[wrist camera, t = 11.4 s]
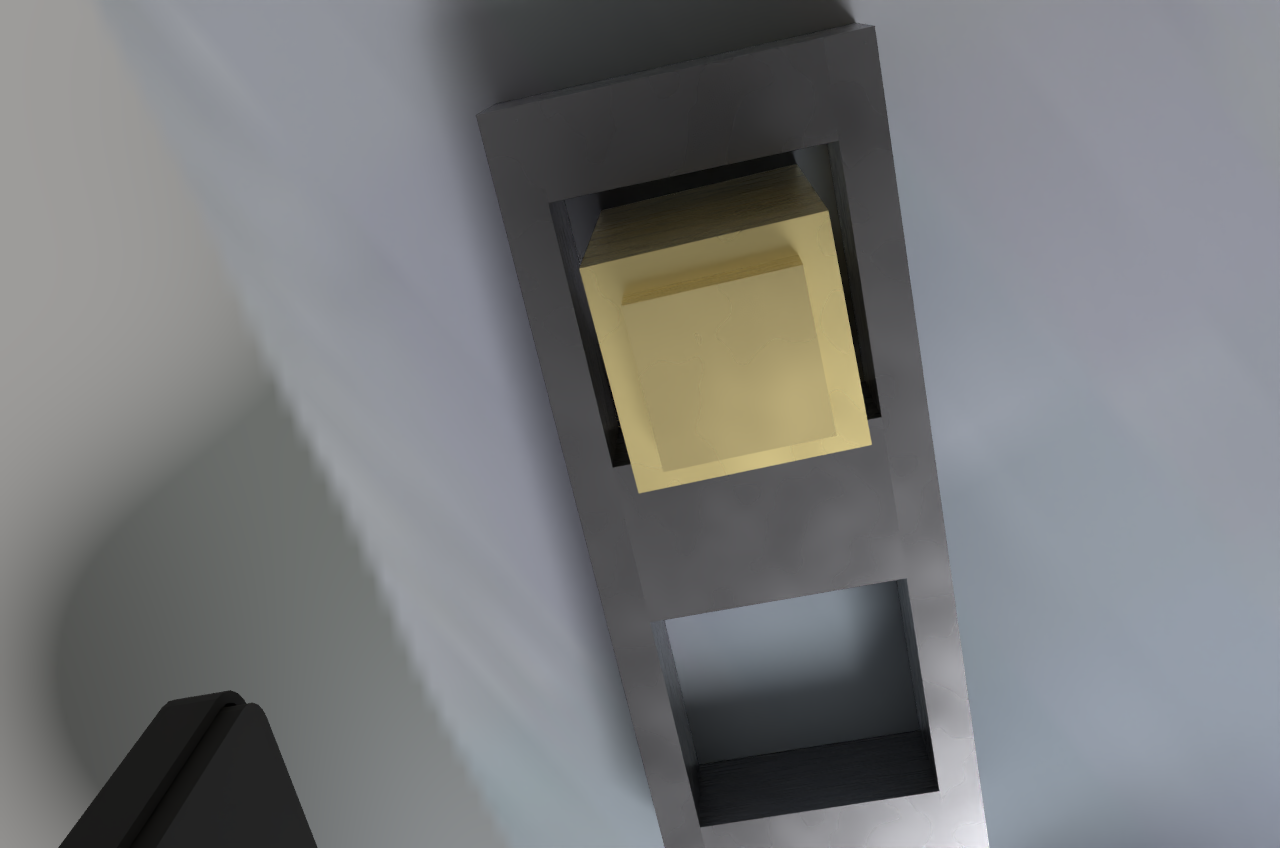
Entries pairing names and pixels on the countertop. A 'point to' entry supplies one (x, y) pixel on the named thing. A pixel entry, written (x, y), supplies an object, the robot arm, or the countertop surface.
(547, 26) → the countertop surface
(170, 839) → the robot arm
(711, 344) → the yellow rectangular block
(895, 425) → the grey board with holes
